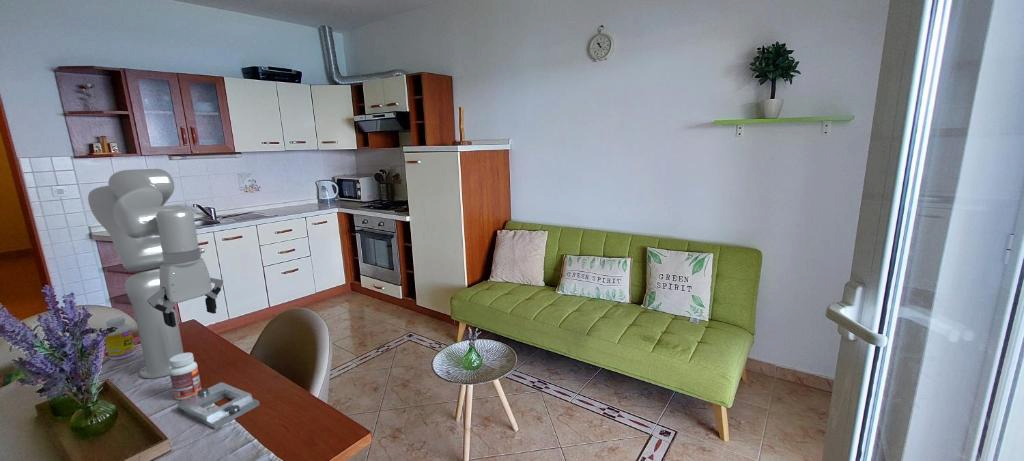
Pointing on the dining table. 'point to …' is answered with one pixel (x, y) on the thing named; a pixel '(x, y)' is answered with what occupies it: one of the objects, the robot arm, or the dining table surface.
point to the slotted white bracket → (222, 414)
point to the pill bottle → (184, 376)
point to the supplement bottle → (119, 339)
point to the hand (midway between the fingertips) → (192, 319)
